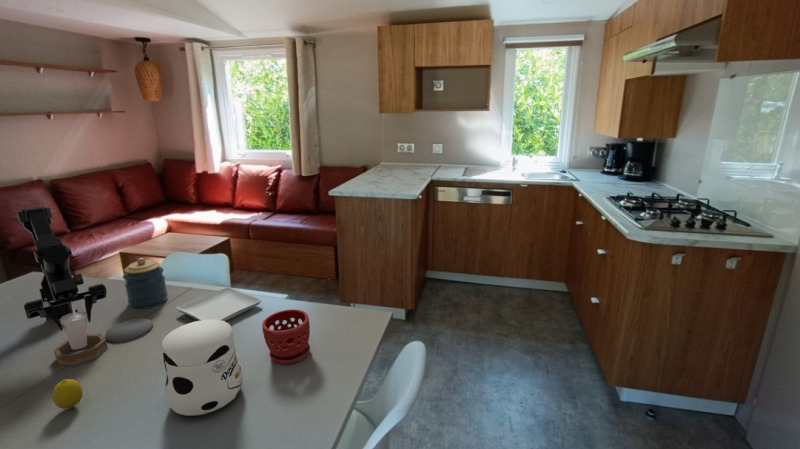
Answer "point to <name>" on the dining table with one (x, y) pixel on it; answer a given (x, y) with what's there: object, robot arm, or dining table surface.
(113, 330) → the rubber mat
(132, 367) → the dining table surface
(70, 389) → the lemon
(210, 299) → the salad plate
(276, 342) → the plant pot
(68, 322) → the smoothie
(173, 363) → the milk container
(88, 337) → the brown octagonal holder
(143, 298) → the canister
